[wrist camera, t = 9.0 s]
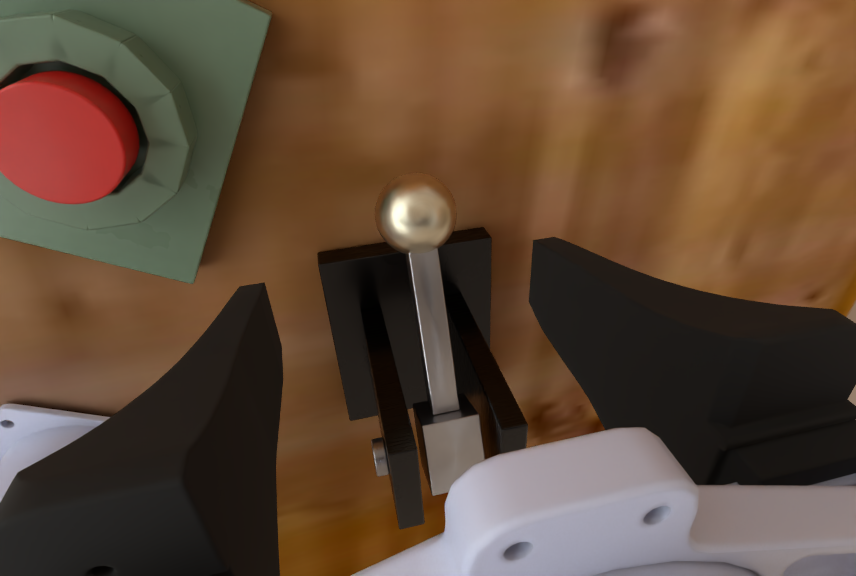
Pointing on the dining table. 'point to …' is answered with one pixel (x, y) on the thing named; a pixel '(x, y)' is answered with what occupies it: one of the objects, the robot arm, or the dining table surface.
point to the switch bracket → (415, 352)
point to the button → (65, 137)
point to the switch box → (140, 119)
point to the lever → (431, 324)
